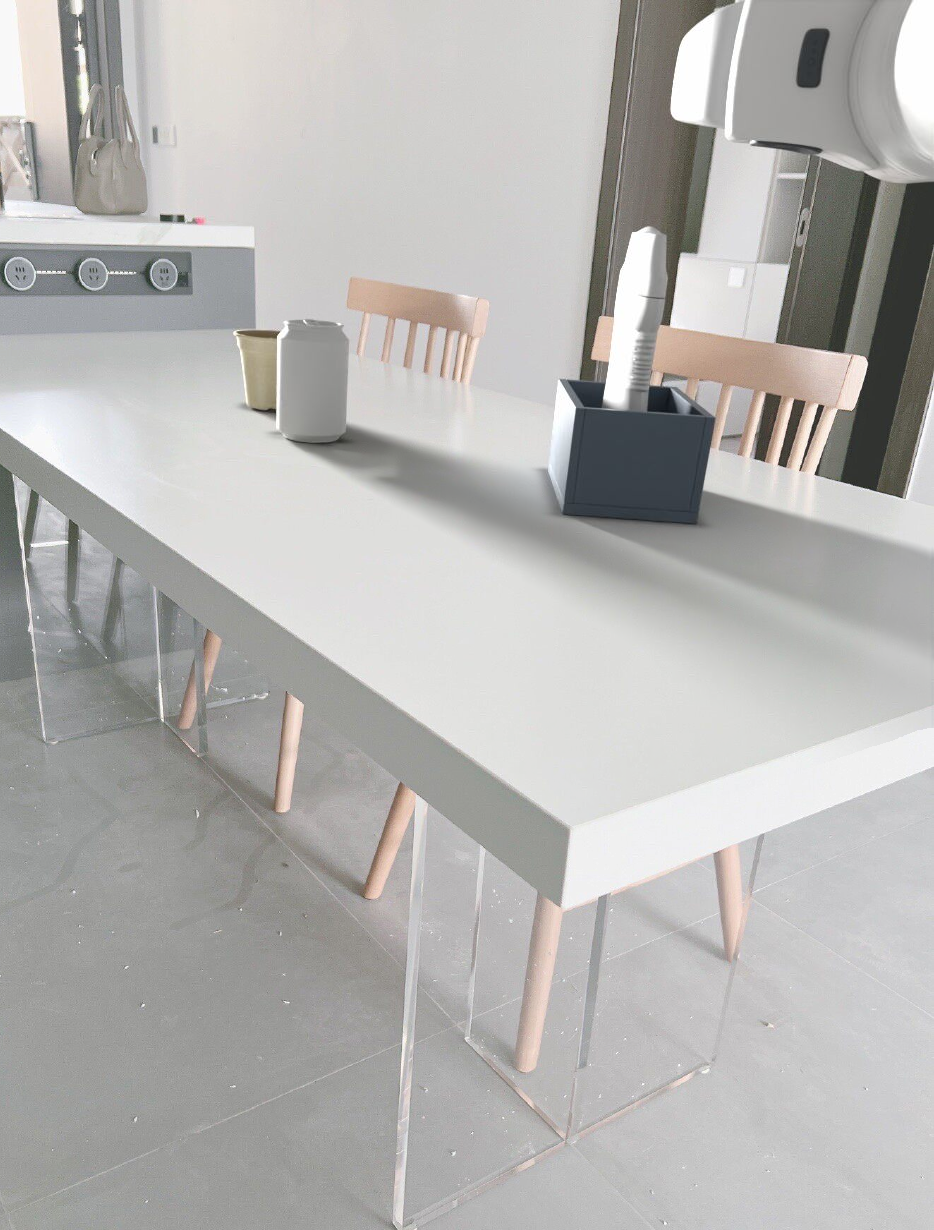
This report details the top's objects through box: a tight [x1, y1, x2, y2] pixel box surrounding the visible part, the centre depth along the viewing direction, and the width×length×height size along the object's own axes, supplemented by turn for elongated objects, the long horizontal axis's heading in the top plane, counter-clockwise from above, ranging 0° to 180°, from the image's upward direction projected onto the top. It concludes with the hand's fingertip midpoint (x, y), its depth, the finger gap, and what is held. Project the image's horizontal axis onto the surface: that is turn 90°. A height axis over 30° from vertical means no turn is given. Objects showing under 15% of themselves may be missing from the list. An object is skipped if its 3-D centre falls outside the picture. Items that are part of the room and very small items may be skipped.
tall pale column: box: [602, 225, 669, 412], centre depth 95 cm, size 11×4×22 cm, turn 6°
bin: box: [547, 378, 717, 525], centre depth 98 cm, size 12×18×9 cm, turn 177°
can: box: [276, 318, 350, 444], centre depth 113 cm, size 8×8×12 cm
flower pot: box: [233, 329, 283, 411], centre depth 129 cm, size 9×9×9 cm
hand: (837, 101), depth 59 cm, fingers open, 8 cm apart
